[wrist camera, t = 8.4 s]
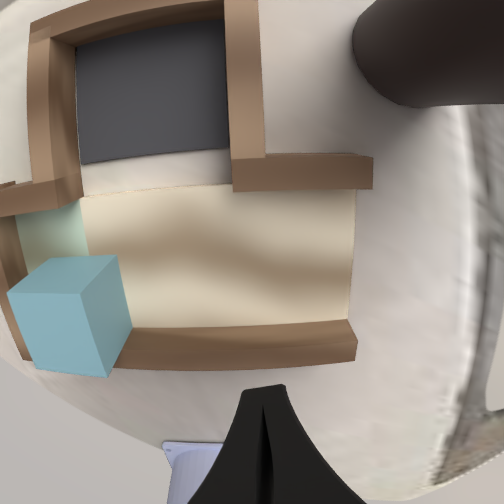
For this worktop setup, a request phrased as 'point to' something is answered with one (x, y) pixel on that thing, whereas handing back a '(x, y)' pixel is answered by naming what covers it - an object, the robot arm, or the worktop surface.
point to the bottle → (433, 51)
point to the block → (73, 314)
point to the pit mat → (152, 92)
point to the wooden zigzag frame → (190, 215)
